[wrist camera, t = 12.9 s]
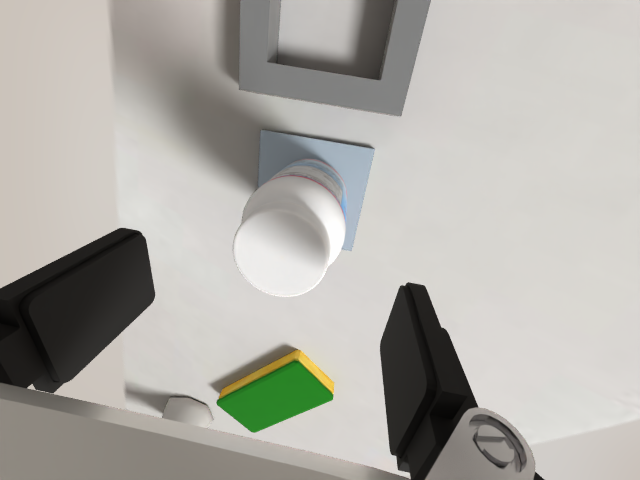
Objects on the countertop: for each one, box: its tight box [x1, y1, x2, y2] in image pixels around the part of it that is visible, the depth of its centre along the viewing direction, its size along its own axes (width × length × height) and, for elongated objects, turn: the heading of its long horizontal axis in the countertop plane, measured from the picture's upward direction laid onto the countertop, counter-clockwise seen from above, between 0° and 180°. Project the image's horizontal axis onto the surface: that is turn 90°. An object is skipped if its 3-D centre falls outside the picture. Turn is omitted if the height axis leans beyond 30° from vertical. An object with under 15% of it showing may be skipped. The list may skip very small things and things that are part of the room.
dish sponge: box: [217, 350, 334, 433], centre depth 34 cm, size 7×14×2 cm, turn 129°
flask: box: [162, 397, 214, 428], centre depth 34 cm, size 7×7×10 cm
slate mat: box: [258, 130, 375, 251], centre depth 23 cm, size 9×9×1 cm
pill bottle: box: [233, 159, 347, 297], centre depth 18 cm, size 6×6×11 cm
